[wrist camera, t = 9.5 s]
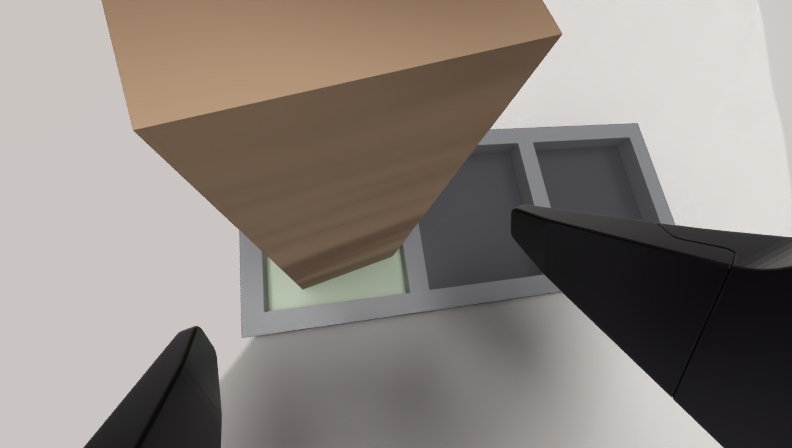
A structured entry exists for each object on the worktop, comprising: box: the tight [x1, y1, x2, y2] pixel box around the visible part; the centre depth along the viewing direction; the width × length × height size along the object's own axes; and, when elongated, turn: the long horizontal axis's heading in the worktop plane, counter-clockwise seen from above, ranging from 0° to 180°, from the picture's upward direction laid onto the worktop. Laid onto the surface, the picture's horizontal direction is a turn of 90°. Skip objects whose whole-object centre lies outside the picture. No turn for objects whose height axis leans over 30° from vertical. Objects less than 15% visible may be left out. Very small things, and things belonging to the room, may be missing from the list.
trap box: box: [239, 123, 675, 338], centre depth 20 cm, size 25×10×2 cm, turn 98°
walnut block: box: [102, 0, 562, 289], centre depth 11 cm, size 5×5×15 cm
